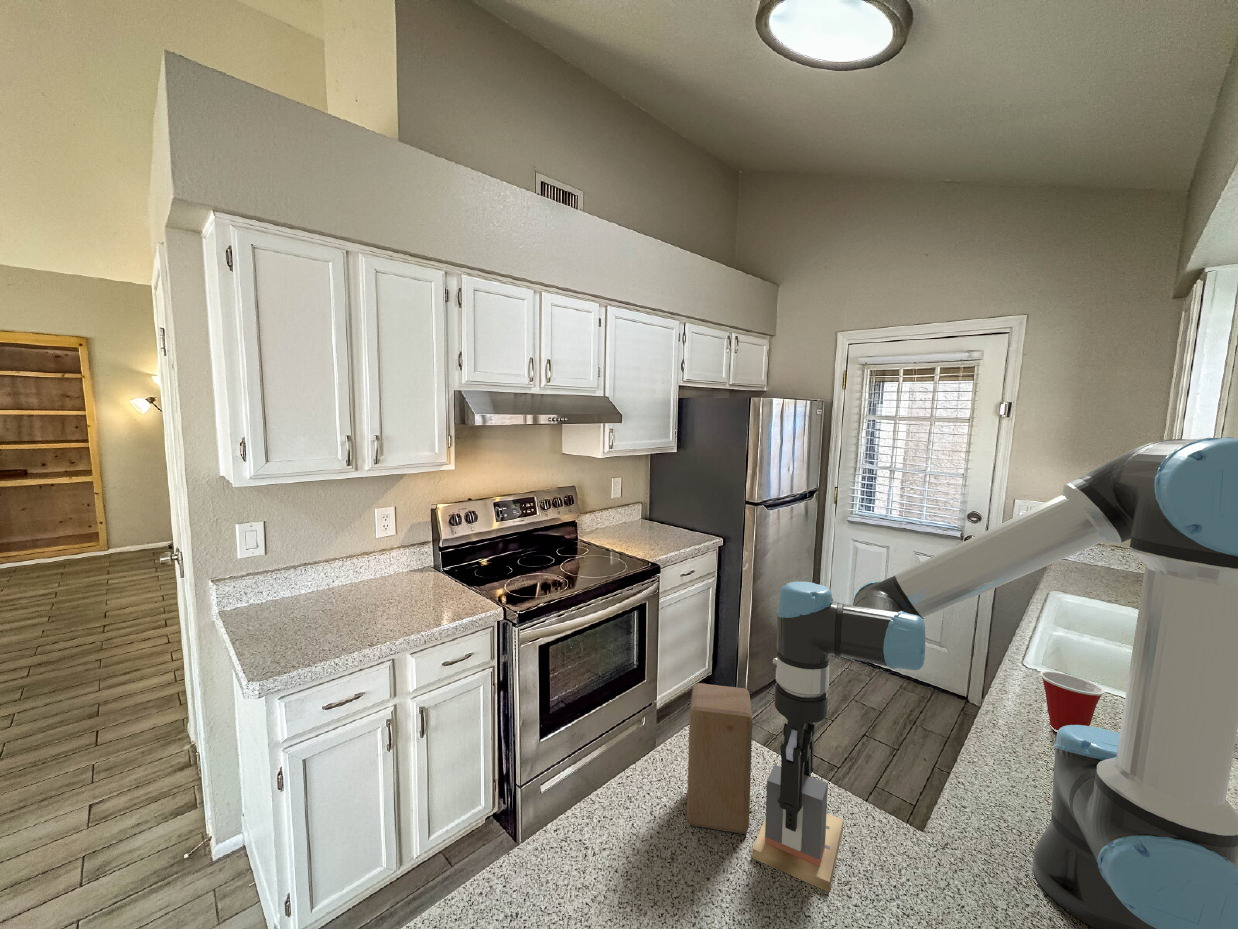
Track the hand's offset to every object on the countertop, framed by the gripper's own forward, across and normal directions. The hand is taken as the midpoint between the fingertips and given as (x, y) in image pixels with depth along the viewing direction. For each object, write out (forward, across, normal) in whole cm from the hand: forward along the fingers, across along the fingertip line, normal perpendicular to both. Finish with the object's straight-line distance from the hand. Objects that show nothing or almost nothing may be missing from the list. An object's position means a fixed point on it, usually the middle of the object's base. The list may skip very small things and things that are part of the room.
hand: (795, 834), depth 78 cm
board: (+3, -3, 0) cm, 4 cm away
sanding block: (+2, 0, 0) cm, 2 cm away
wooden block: (+3, -2, -13) cm, 14 cm away
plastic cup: (+3, -68, +44) cm, 81 cm away
